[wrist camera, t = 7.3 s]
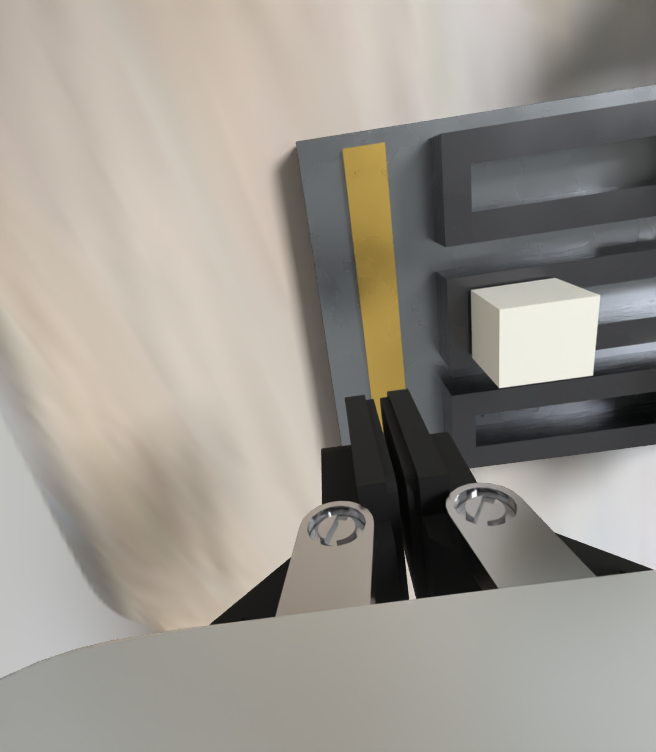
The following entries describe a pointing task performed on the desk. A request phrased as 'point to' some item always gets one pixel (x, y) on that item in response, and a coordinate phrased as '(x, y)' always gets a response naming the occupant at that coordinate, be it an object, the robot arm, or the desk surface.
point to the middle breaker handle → (534, 331)
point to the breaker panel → (491, 265)
